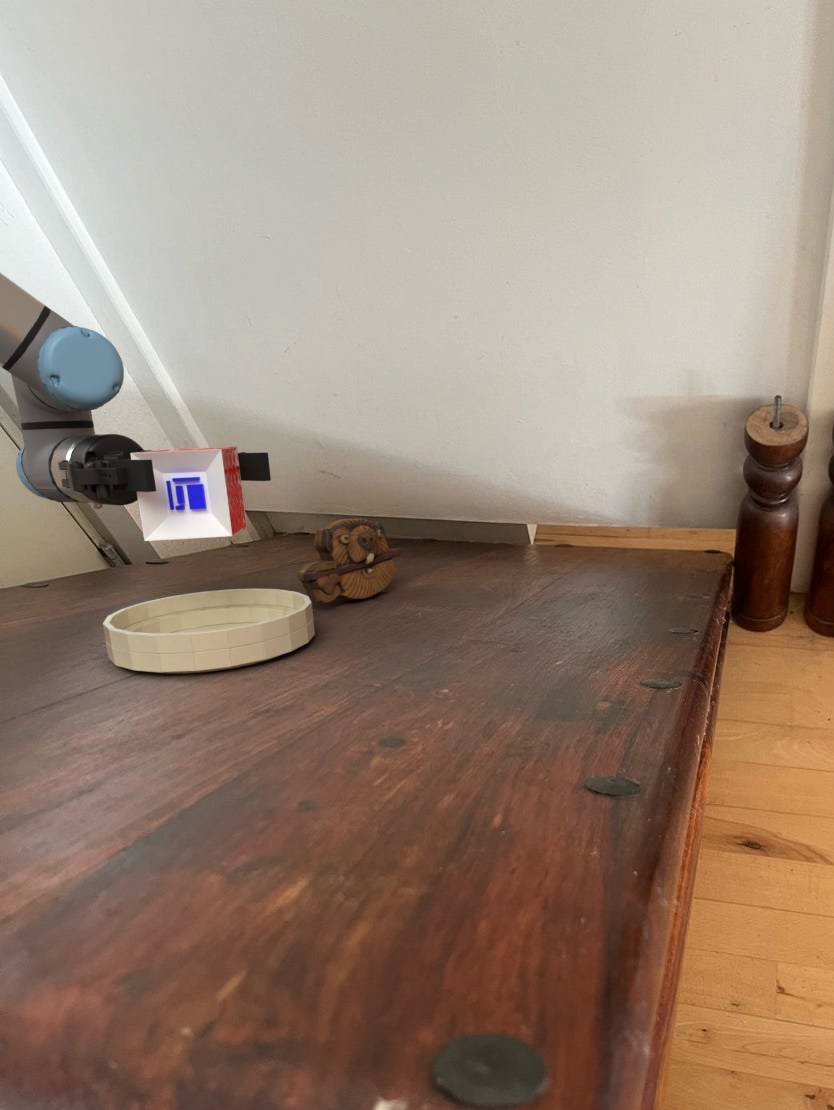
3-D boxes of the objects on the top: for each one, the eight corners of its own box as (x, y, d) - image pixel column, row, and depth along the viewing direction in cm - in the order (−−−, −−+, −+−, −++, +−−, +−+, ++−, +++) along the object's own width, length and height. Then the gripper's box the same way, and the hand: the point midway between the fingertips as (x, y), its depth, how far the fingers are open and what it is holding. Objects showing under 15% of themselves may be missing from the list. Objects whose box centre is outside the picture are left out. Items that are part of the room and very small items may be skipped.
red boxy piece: (246, 526, 79) (237, 446, 77) (232, 536, 72) (221, 448, 70) (166, 530, 78) (154, 450, 76) (143, 541, 71) (129, 452, 69)
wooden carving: (328, 616, 88) (320, 528, 85) (298, 613, 90) (289, 527, 87) (411, 588, 101) (406, 511, 99) (383, 585, 104) (377, 511, 101)
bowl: (71, 682, 68) (62, 638, 67) (160, 627, 86) (154, 592, 85) (288, 674, 67) (283, 630, 66) (330, 620, 86) (327, 585, 85)
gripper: (204, 494, 94) (317, 499, 81) (-8, 516, 77) (89, 527, 63) (196, 431, 92) (310, 425, 79) (-25, 438, 75) (72, 433, 61)
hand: (211, 471), depth 71 cm, fingers closed on red boxy piece, 11 cm apart
